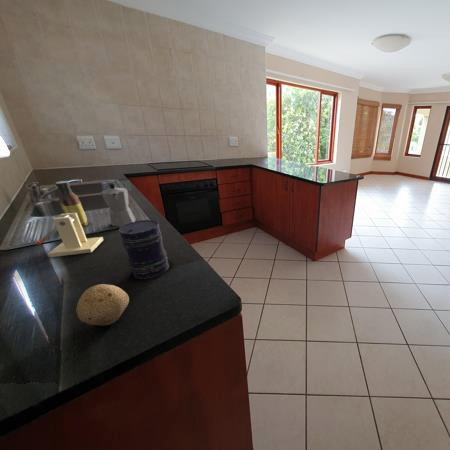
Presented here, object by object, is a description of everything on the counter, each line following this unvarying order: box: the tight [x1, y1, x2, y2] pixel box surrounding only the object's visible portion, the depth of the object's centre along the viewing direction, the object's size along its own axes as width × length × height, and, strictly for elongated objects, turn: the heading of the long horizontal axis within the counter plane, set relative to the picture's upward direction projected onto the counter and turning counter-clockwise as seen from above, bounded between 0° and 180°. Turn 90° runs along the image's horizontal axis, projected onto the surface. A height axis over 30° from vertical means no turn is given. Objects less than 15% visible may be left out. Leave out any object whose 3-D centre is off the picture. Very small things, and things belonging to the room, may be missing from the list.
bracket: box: [47, 213, 104, 258], centre depth 84 cm, size 12×10×13 cm
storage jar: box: [118, 219, 170, 280], centre depth 71 cm, size 10×10×15 cm
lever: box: [35, 215, 75, 246], centre depth 82 cm, size 13×5×2 cm
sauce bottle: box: [55, 180, 89, 228], centre depth 101 cm, size 7×6×20 cm
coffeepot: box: [100, 183, 137, 227], centre depth 106 cm, size 15×9×18 cm, turn 35°
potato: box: [75, 283, 130, 327], centre depth 53 cm, size 9×9×10 cm
